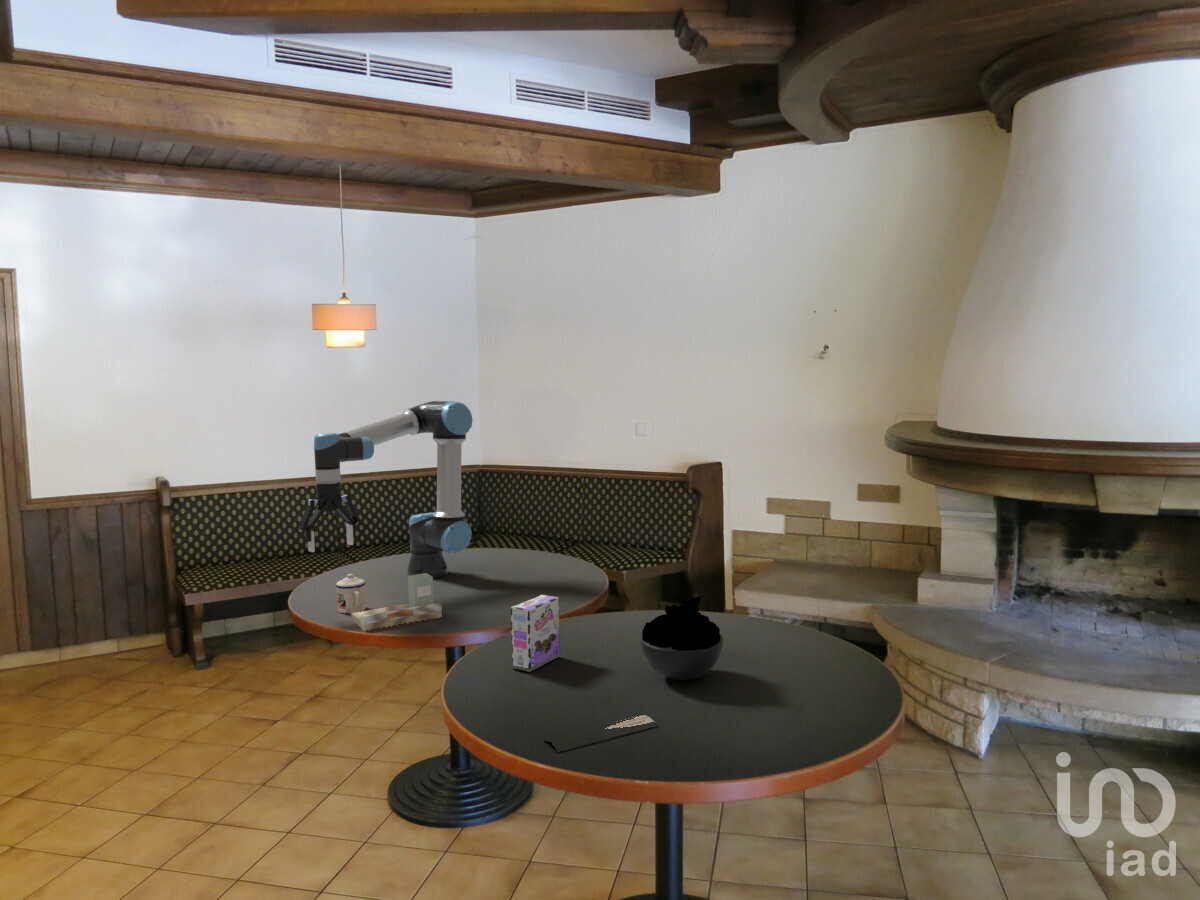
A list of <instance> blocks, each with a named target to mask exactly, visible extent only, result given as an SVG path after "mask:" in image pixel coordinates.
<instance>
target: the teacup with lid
mask: <svg viewBox="0 0 1200 900" xmlns="http://www.w3.org/2000/svg"><path fill="white" fill-rule="evenodd" d="M335 587H336V601H337V612H338V613H341V614H346V613H349V614H351V613H355V612H360V611H366V608H367V603H366V601H367V600H366V581H365V580H364V579H363V578H359V577H357V576H355V575H354V574H353V573H349V574H347V575H346V577H344V578H343V579H340V580H338V581H337V582H336V584H335Z"/></svg>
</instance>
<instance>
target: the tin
mask: <svg viewBox="0 0 1200 900" xmlns="http://www.w3.org/2000/svg"><path fill="white" fill-rule="evenodd" d="M407 591H408V593H407V594H408V595H407V596H408V604H409V608H411V607H417V606H423V605H429V604H435V601H434V578H433V577H432V576H430V575H428V574H427V573H424V574H417V575H411V576H408V577H407Z"/></svg>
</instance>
